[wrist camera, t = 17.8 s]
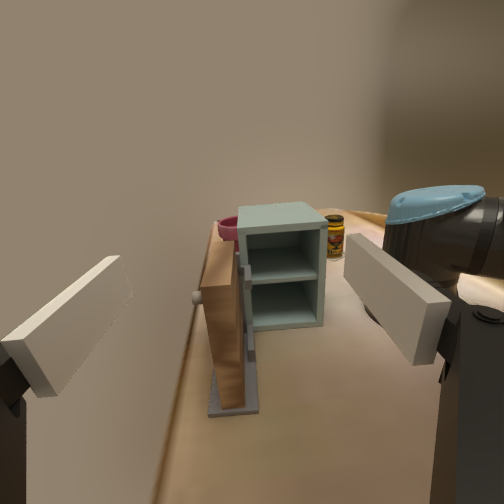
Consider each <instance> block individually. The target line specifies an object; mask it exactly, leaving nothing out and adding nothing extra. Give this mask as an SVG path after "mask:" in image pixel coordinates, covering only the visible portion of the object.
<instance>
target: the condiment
mask: <svg viewBox="0 0 504 504" xmlns="http://www.w3.org/2000/svg"><path fill="white" fill-rule="evenodd" d="M325 219H327V220H328V240H327V259H328V260H332V261H336V260H338V259H340V258H342V257H344V256H345V253H344V252H343V242H344V225H343V224H344V222H343V221H344V218H343V216H340V215H328V216H326V217H325Z"/></svg>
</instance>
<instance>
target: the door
mask: <svg viewBox="0 0 504 504" xmlns="http://www.w3.org/2000/svg"><path fill="white" fill-rule="evenodd" d="M200 290H201V291H193V293H192V302H193V305H197V304H203V307H204V312H205V318H206V323H207V329H208V335H209V340H210V346H211V351H212V357H213V363H214V368H215V374H216V380H217V385H218V391H219V396H220V402H221V408H222V410H226V409H238V408H245V349H244V328H243V319H242V310H241V300H240V291H239V281H238V272H237V262H236V253H235V244H234V240H233V241H221V242H214V244H213V247H212V250H211V253H210V257H209V260H208V263H207V266H206V270H205V273H204V276H203V279H202V282H201V286H200Z"/></svg>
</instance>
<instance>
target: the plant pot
mask: <svg viewBox="0 0 504 504" xmlns="http://www.w3.org/2000/svg"><path fill="white" fill-rule="evenodd" d="M237 223H238V216H233V217H228V218H225V219H222V220H220V221H219V222H218V232H219V236H220V237H221V238H223V241H233V240H234V244H235V252H239V242H238V232H237Z"/></svg>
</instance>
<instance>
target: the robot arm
mask: <svg viewBox="0 0 504 504" xmlns="http://www.w3.org/2000/svg"><path fill="white" fill-rule="evenodd" d="M385 223H386V227H385V234H384V241H383V248H382V249H381V248H379V247H378V246H377V245H375V244H374V243H372V242H371V241H370V240H368V239H367V238H366V237H364V236H363V235H362V234H360V233H358V234H347V238H346V251H345V264H344V278H345V279H346V280H347V281H348V283H349V284H350V285H351V287H352V288H353V289H354V291H355V292H356V293H357V294H358V296H359V297H360V298H361V300H362V301H363V302H364V304H365V309H366V311H367V313H368V314H369V315H370V316H371V317H372V318H373V319H374V320H375V321H376V322H378V323H379V324H380V325H381V326H382V327H383V328H384V330H385V331H386V332H387V334H388V335H389V336H390V337H391V339H392V340H393V341H394V343H395V344H396V345H397V347H398V348H399V349H400V350H401V352H402V353H403V354H404V356H405V357H406V358H407V360H408V361H409V362H410V363H411V365H412V366H414V365H426V364H433V363H434V360H435V356H436V353H437V351H438V352H439V354H440V355H441V356H442V357H443V358H444V359H445V363H444V366H443V369H442V372H441V375H440V378H439V381H438V382H439V383H441V393H440V403H439V413H438V423H437V433H436V443H435V453H434V463H433V473H432V483H431V493H430V503H429V504H504V313H503V312H501V311H499V310H497V309H493V308H490V307H487V306H481V305H469V304H468V303H466V302H465V301H463V300H462V299H460V298H459V296H458V290H457V283H458V279H459V276H460V273H464V274H470V275H475V276H481V277H486V278H492V279H497V280H503V281H504V197H485V192H484V188H483V187H481V186H475V185H465V186H462V185H451V186H438V187H429V188H422V189H415V190H410V191H407V192H403V193H400V194H399V195H397V196H395V197H394V198H393V199H392V201H391V203H390V206H389V211H388V215H387V219H386V220H385ZM133 296H134V294H133V291H132V288H131V285H130V282H129V280H128V277H127V273H126V270H125V268H124V265H123V262H122V259H121V256H120V255H119V256H108V257H106V258H105V259H104V260H102V261H101V262H100V263H98V264H97V265H96V266H95V267H93V268H92V269H91V270H90V271H88V272H87V273H86V274H84V275H83V276H82V277H81V278H80V279H78V280H77V281H76V282H74V283H73V284H72V285H71V286H69V287H68V288H67V289H65V290H64V291H63V292H62V293H60V294H59V295H58V296H57V297H55V298H54V299H53V300H52V301H50V302H49V303H48V304H46V305H45V306H44V307H43V308H41V309H40V310H38V311H37V312H36V313H35V314H33V315H32V316H31V317H29V318H28V320H26V321H24V322H23V323H22V324H21V325H20V326H19V327H17V328H15V329H14V330H13V331H12V332H10V333H9V334H8V335H7V336H5V337H4V338H3V339H1V340H0V504H26V401H25V400H24V398H23V397H22V395H23V394H24V393H25V392H26V390H27V389H28V388H29V387H31V389H32V390H33V392H34V393H35V395H36V396H37V398H42V397H54V396H58V395H59V394H60V393H61V391H62V390H63V389H64V387H65V386H66V385H67V383H68V382H69V381H70V379H71V378H72V377H73V375H74V374H75V373H76V371H77V370H78V369H79V367H80V366H81V365H82V363H83V362H84V361H85V359H86V358H87V357H88V355H89V354H90V353H91V352H92V350H93V349H94V347H95V346H96V345H97V344H98V342H99V341H100V340H101V338H102V337H103V335H104V334H105V333H106V331H107V330H108V329H109V327H110V326H111V325H112V324H113V322H114V321H115V320H116V318H117V317H118V316H119V314H120V313H121V312H122V310H123V309H124V308H125V306H126V305H127V304H128V302H129V301H130V300H131V298H132V297H133Z"/></svg>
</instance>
